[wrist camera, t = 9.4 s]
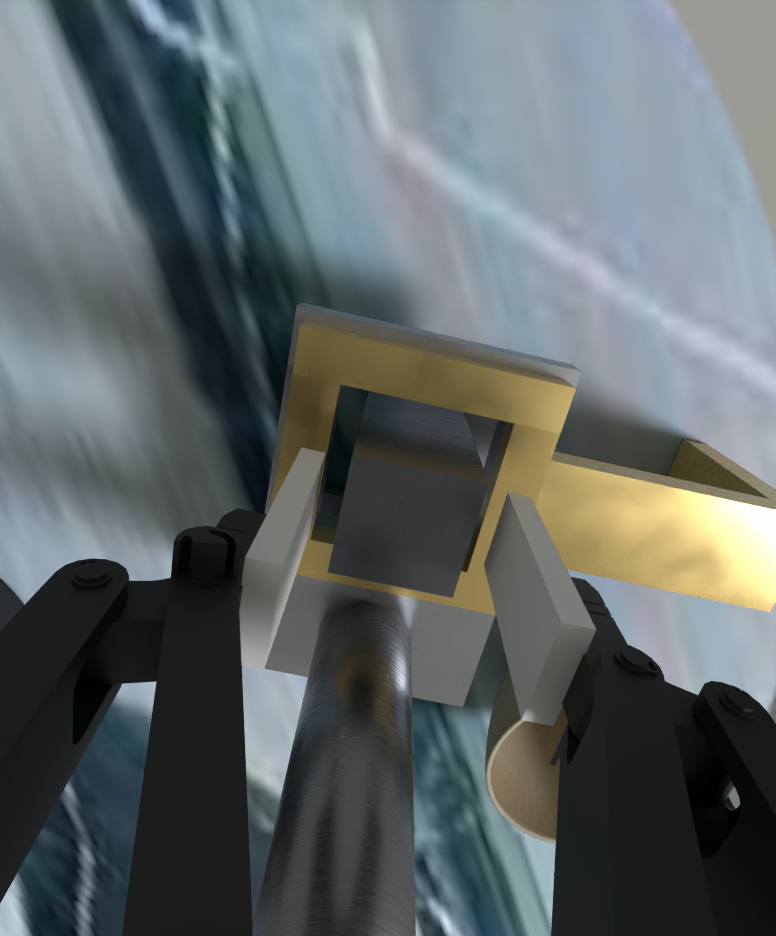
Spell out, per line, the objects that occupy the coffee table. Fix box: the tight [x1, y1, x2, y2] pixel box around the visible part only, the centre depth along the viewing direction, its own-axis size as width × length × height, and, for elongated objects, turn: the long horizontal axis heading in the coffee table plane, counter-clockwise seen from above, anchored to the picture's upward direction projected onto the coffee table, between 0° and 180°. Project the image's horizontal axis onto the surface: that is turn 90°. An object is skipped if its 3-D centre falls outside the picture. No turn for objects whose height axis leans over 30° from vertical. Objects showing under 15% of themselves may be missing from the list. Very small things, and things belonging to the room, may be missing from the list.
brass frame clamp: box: [252, 303, 776, 936], centre depth 19 cm, size 20×16×22 cm
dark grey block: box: [328, 391, 489, 598], centre depth 22 cm, size 4×4×12 cm
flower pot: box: [485, 670, 568, 844], centre depth 30 cm, size 10×10×7 cm
